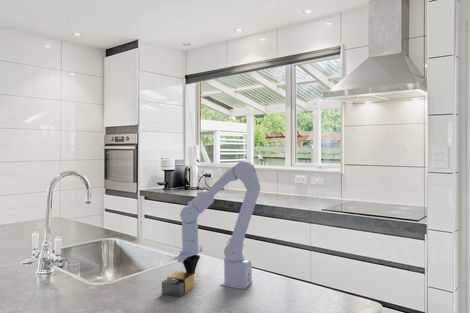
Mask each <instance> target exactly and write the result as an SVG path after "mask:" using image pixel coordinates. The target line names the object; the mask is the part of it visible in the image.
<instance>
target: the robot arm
mask: <svg viewBox="0 0 470 313" xmlns="http://www.w3.org/2000/svg"><path fill="white" fill-rule="evenodd" d="M257 173H258V172H257V170H256V168H255V166H254V165H253V164H252V162H250V161H248V160H247V159H246V160H240V161H239V162H237V163H236V165H234V166H232V167H231V168H229V169H228V170H227V171H225V172H224V173H223V174H222V175H221V176H220V177H219V178H218V179H217V180H216V182H215V183H213V184H212V185H211V186H210V187H209V188H208V189H202V190H201V191H200V190H199V191H198V192H197V193H196V196H195V197H194V198H192V200H191V201H190V200H189V201H188V202H187V205H185V206H184V207H183V208H182V209H181V211H180V214H179V216H180V220H181V225H182V226H181V249H180V250H179V254H178V255H177V256H176V258H177V260H176V261H177V263H182V264H183V267H184V270H185V272H186V273H192V274H194V275H195V273H196V269H197V266H198V262H199V261H200V259H201V256H200V255H199V253H202V252H203V246H202V245H199V228H198V227H199V224H198V217H199V216H200V215H201V214H203V213H204V212H205V210H207V209H208V208H209V207H210V206H211V205H212V204H213V203H214V201H215V196H216V195H217V194H218V193H219V192H221V190H223V189H224V188H225V186H227V185H228V184H229V183H230V182H235V181H237V180H240V181H241V182H242V184H243V186H244V187H245V189H246V192H245V194H244V198H243V201H242V202H241V203H242V204H241V207H240V210H239V213H238V215H237V220H236V222H235V226H234V228H233V232H232V234H231V237H229V239H228V240H227V241H226V245H225V248H224V251H223V254H224V257H223V268H224V269H223V271H224V274H223V275H224V280H223V281H222V282H221V283H220V284H219V285H220V286H221V287H229V288H235V289H241V290H246V288H248V286H249V285H250V284H252V283H253V278H252V277H253V276H252V275H253V274H252V272H253V270H252V268H253V267H252V262H251V260H247V259H246V258H245V256H244V254H243V250H244V241H245V237H246V233H247V231H248V228H249V225H250V221H251V219H252V215H253V213H254V209H255V208H256V207H255V206H256V204H257V200H258V197H259V195H260V191H261V183H260V181H259V177H258V174H257Z"/></svg>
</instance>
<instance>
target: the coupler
mask: <svg viewBox="0 0 470 313" xmlns="http://www.w3.org/2000/svg"><path fill="white" fill-rule="evenodd" d="M161 295H165V296H170V297H174V298H175V297H176V298H181V297H183V296H185V294H184V282H179V278H177V277H171V278H168V279H167V278H166V279H165V280H163V281H161Z"/></svg>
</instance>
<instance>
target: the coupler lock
mask: <svg viewBox="0 0 470 313" xmlns="http://www.w3.org/2000/svg"><path fill="white" fill-rule="evenodd" d="M171 277H177V278H179V282H184V295H186V294H187V293H188V292H190V291H191V290H193V289H194V288H195V274H192V273H186V271H175V272H173V273H171V274H169V275H167V277H166V280H167V279H168V278H171Z"/></svg>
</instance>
